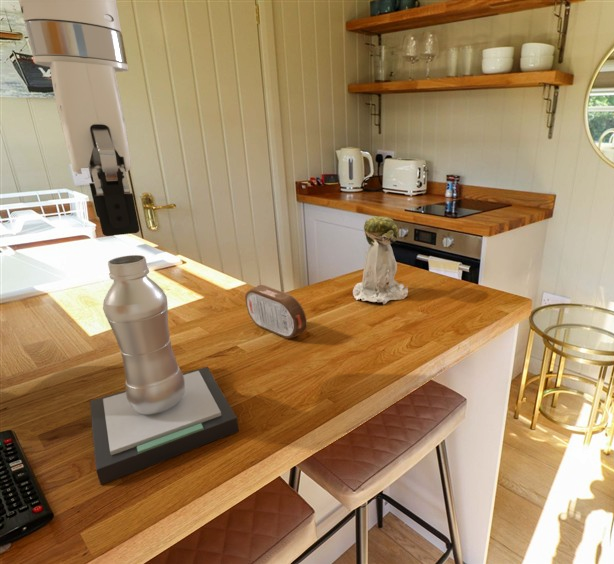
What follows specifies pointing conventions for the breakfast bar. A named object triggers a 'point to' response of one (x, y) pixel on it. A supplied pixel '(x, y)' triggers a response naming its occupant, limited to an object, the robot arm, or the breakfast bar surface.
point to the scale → (158, 427)
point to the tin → (276, 311)
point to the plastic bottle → (143, 336)
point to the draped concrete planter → (380, 263)
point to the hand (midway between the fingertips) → (117, 224)
